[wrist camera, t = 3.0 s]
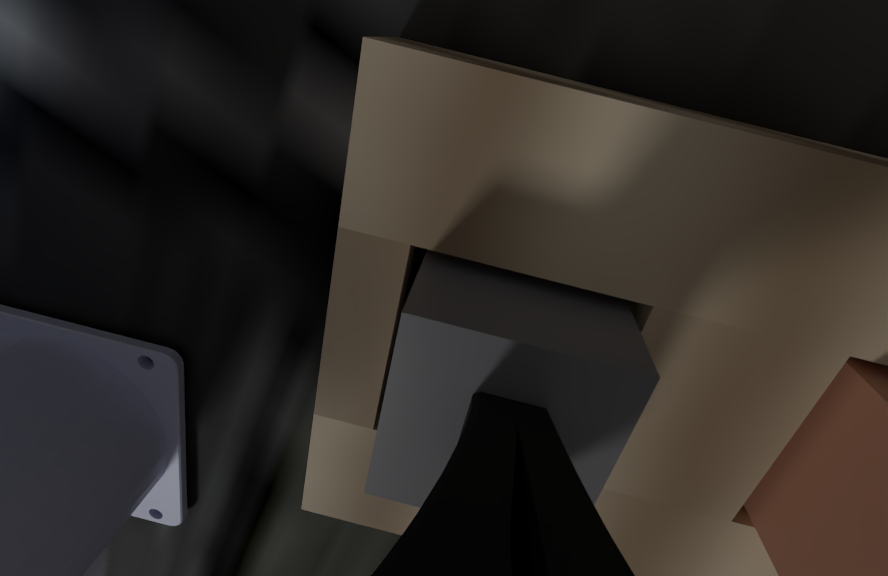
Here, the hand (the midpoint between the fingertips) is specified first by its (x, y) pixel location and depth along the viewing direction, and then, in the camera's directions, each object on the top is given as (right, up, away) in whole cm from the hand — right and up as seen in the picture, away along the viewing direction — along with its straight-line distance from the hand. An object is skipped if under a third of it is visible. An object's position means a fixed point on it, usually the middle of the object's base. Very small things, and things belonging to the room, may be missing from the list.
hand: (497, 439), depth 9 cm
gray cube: (0, +2, +3) cm, 4 cm away
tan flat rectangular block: (+5, +1, +4) cm, 7 cm away
